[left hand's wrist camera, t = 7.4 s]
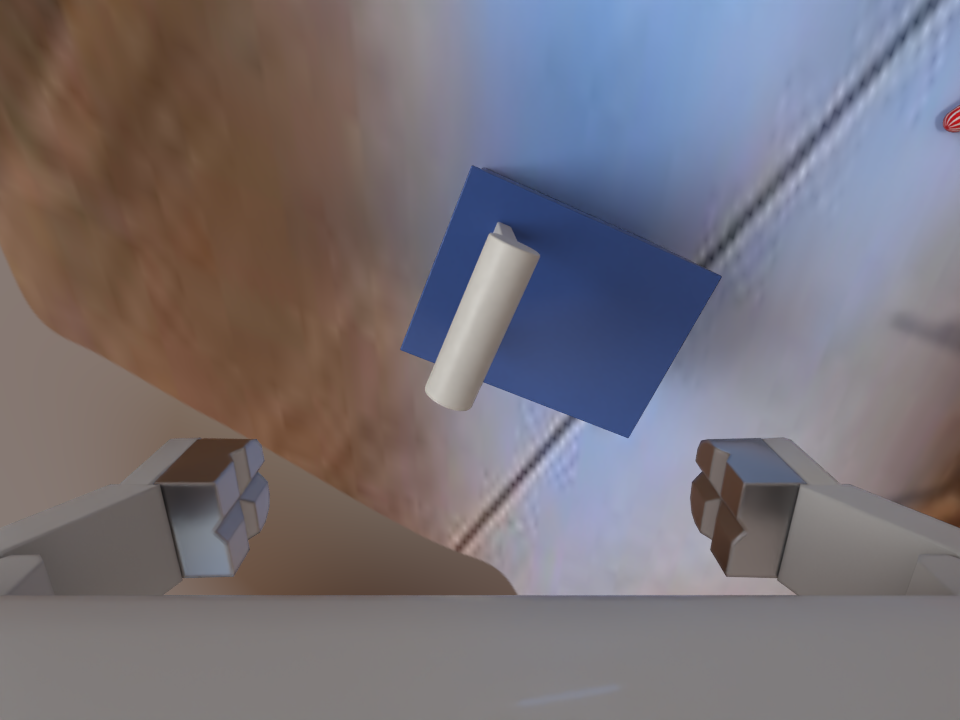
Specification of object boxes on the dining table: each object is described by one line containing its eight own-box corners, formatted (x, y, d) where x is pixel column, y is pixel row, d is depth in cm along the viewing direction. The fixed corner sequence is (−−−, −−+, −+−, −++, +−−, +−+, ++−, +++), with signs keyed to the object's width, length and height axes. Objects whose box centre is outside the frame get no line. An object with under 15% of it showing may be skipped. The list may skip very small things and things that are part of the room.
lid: (402, 344, 28) (369, 423, 20) (472, 165, 25) (467, 167, 17) (624, 430, 30) (680, 537, 21) (714, 272, 27) (821, 324, 18)
